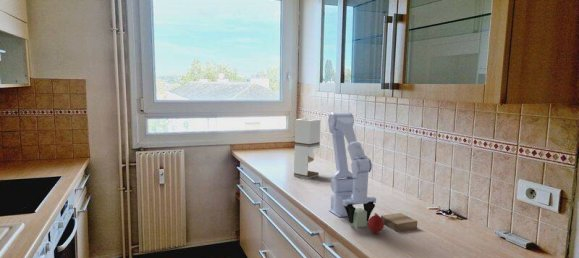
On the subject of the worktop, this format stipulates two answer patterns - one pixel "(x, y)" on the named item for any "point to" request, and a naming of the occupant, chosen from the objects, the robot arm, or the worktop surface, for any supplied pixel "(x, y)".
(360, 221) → the sage block
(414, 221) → the walnut base
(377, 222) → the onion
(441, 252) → the worktop surface
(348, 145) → the robot arm
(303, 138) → the white coffee machine
